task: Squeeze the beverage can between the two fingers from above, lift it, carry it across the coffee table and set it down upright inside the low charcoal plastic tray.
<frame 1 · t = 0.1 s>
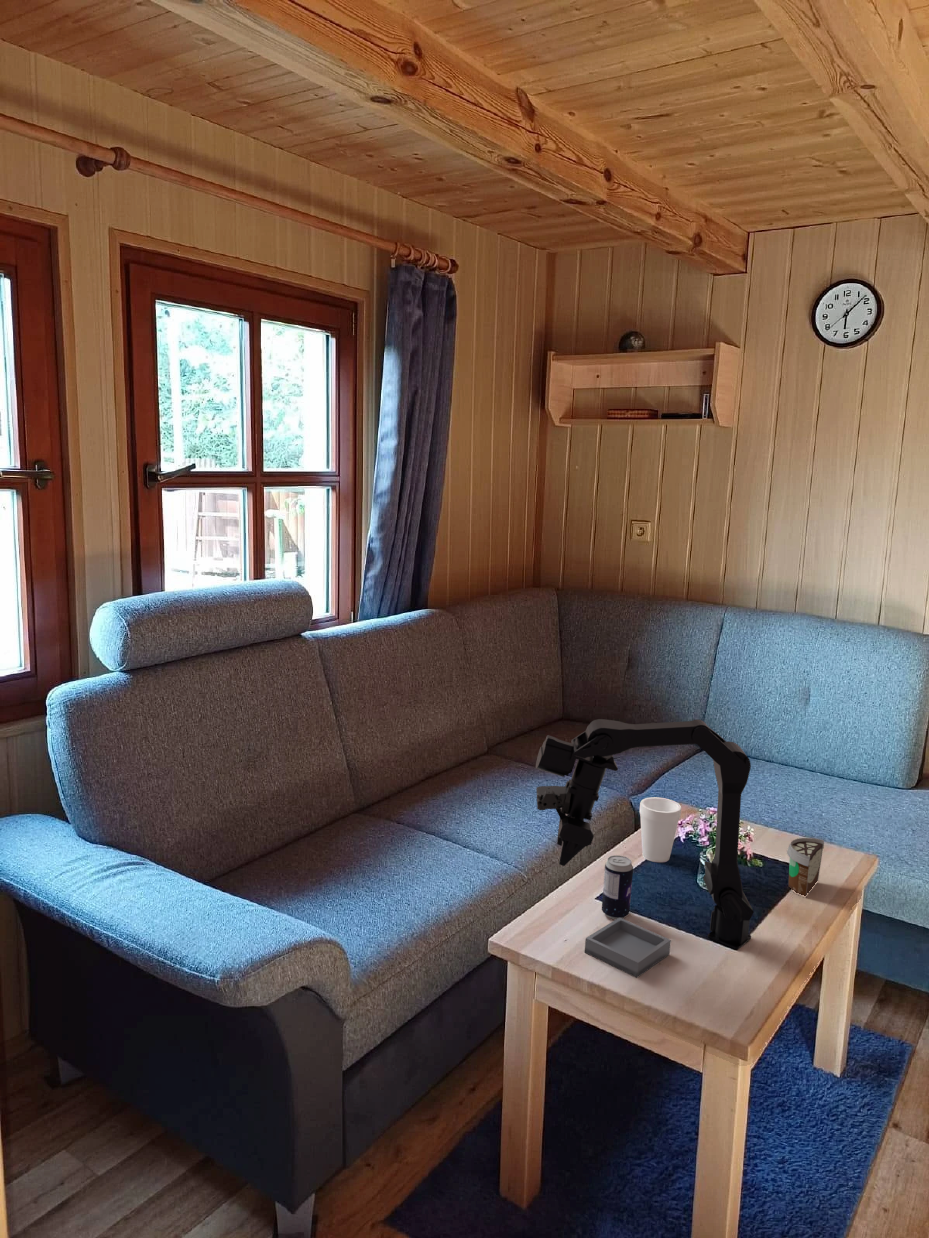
hand: (560, 854, 182), 15 cm above the table, tool pointing down, fingers open, 9 cm apart
foam cup: (655, 857, 220), on the table
beverage can: (615, 915, 191), on the table
tray: (627, 953, 176), on the table
food container: (797, 886, 208), on the table
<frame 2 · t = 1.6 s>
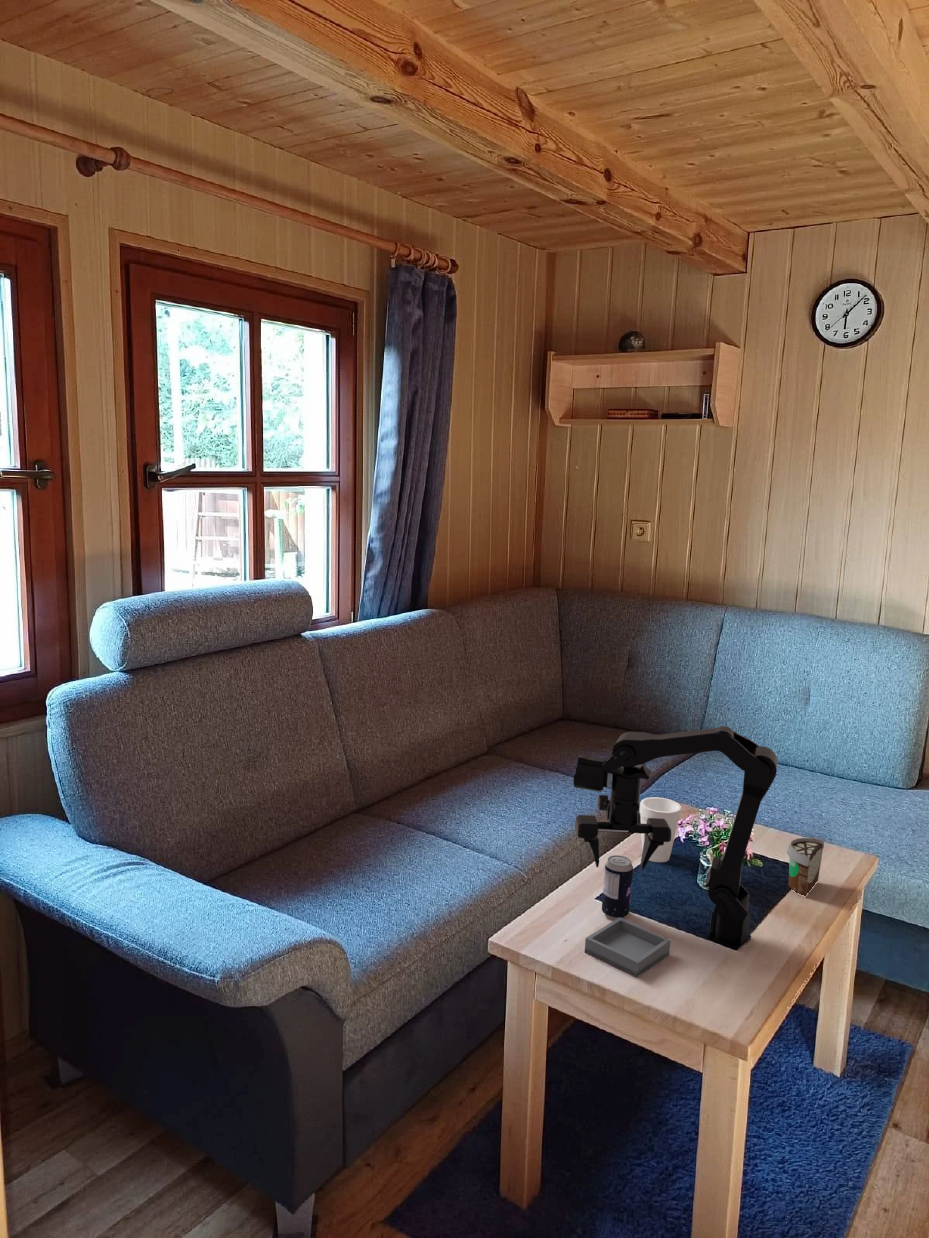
hand: (619, 867, 189), 10 cm above the table, tool pointing down, fingers open, 9 cm apart
nothing on the table moved.
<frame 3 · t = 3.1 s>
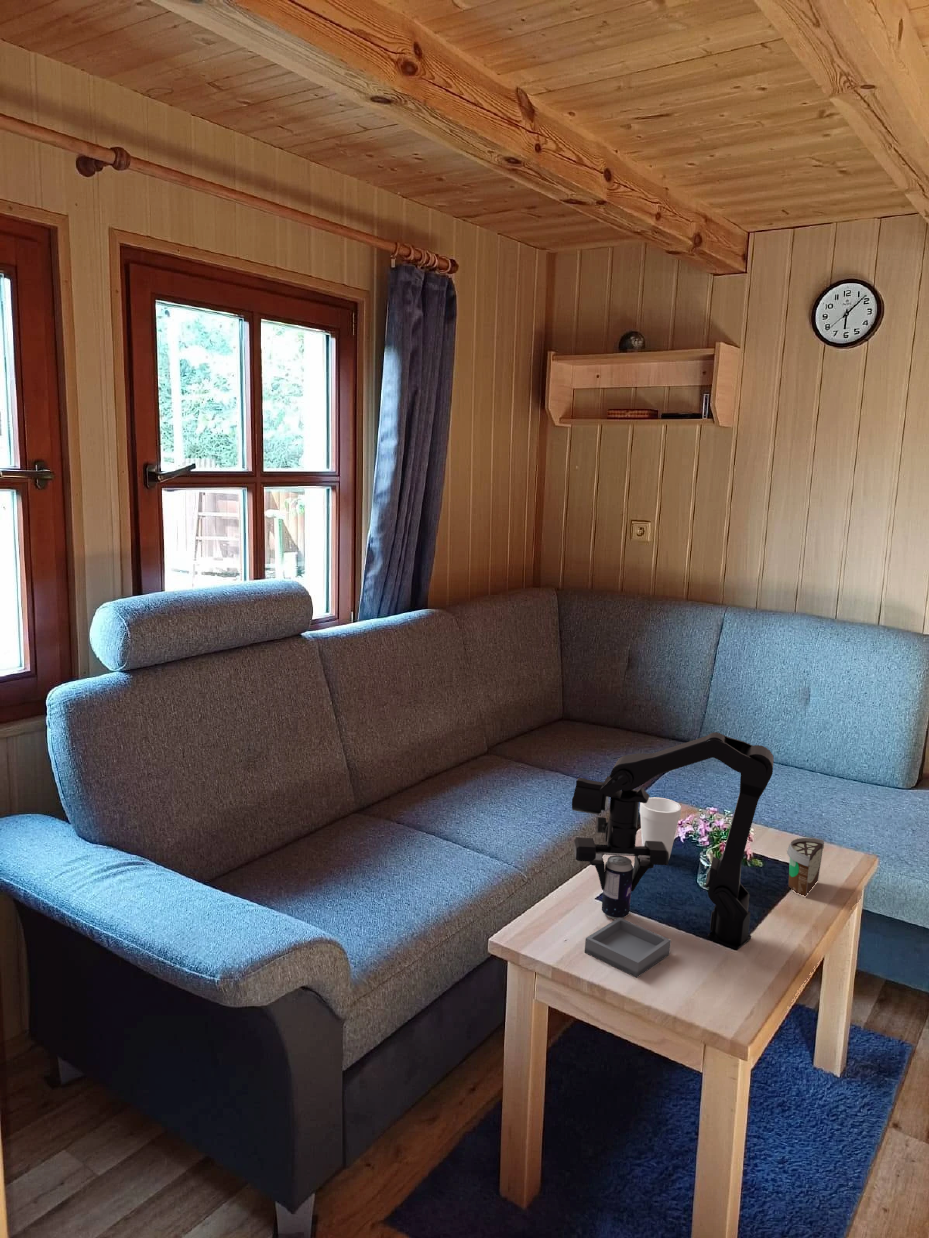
hand: (617, 889, 190), 6 cm above the table, tool pointing down, fingers closed on beverage can, 6 cm apart
beverage can: (615, 915, 191), on the table, touching gripper
everything else where it was.
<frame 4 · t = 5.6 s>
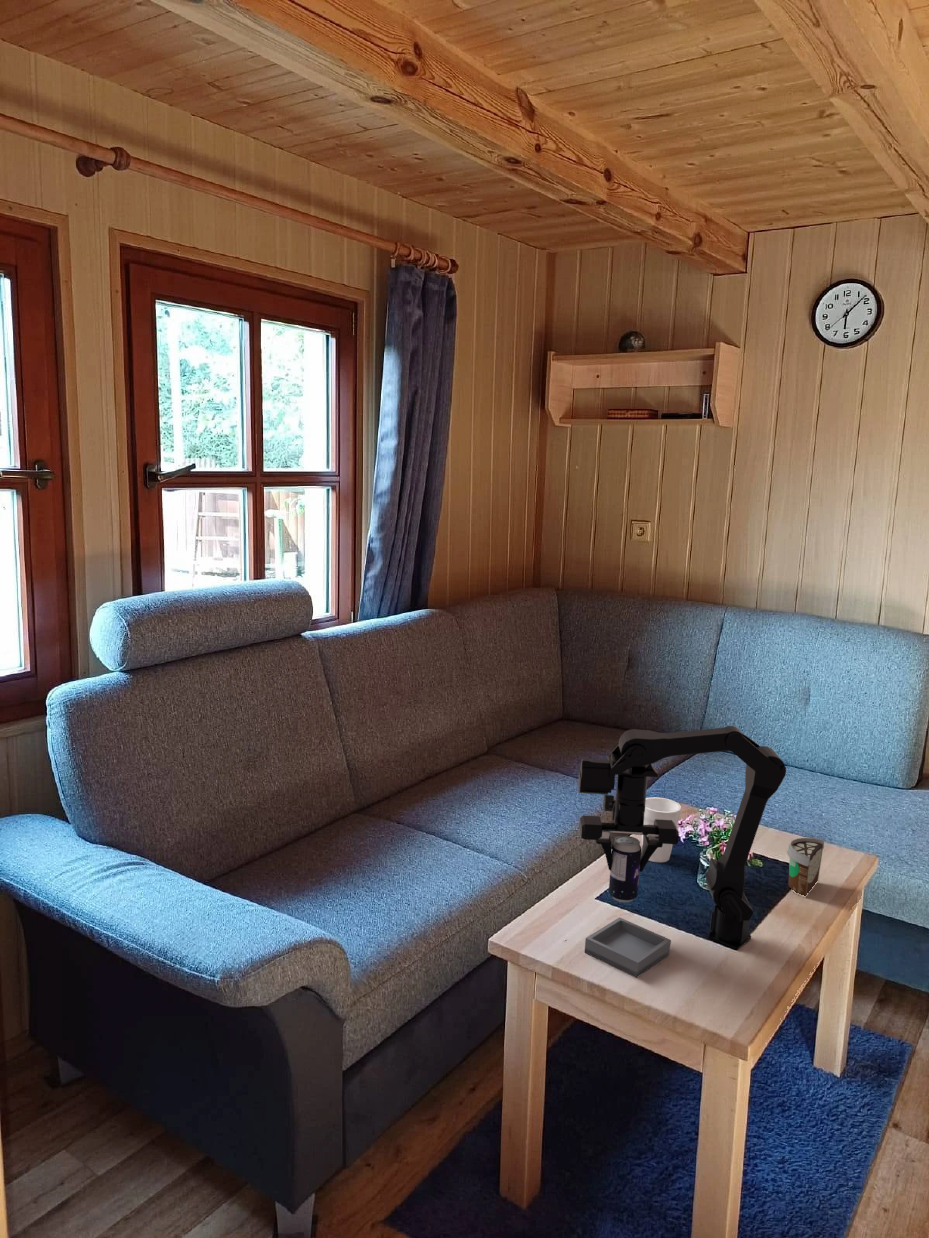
hand: (625, 870, 183), 13 cm above the table, tool pointing down, fingers closed on beverage can, 6 cm apart
beverage can: (622, 898, 184), point 7 cm above the table, touching gripper
everything else where it was.
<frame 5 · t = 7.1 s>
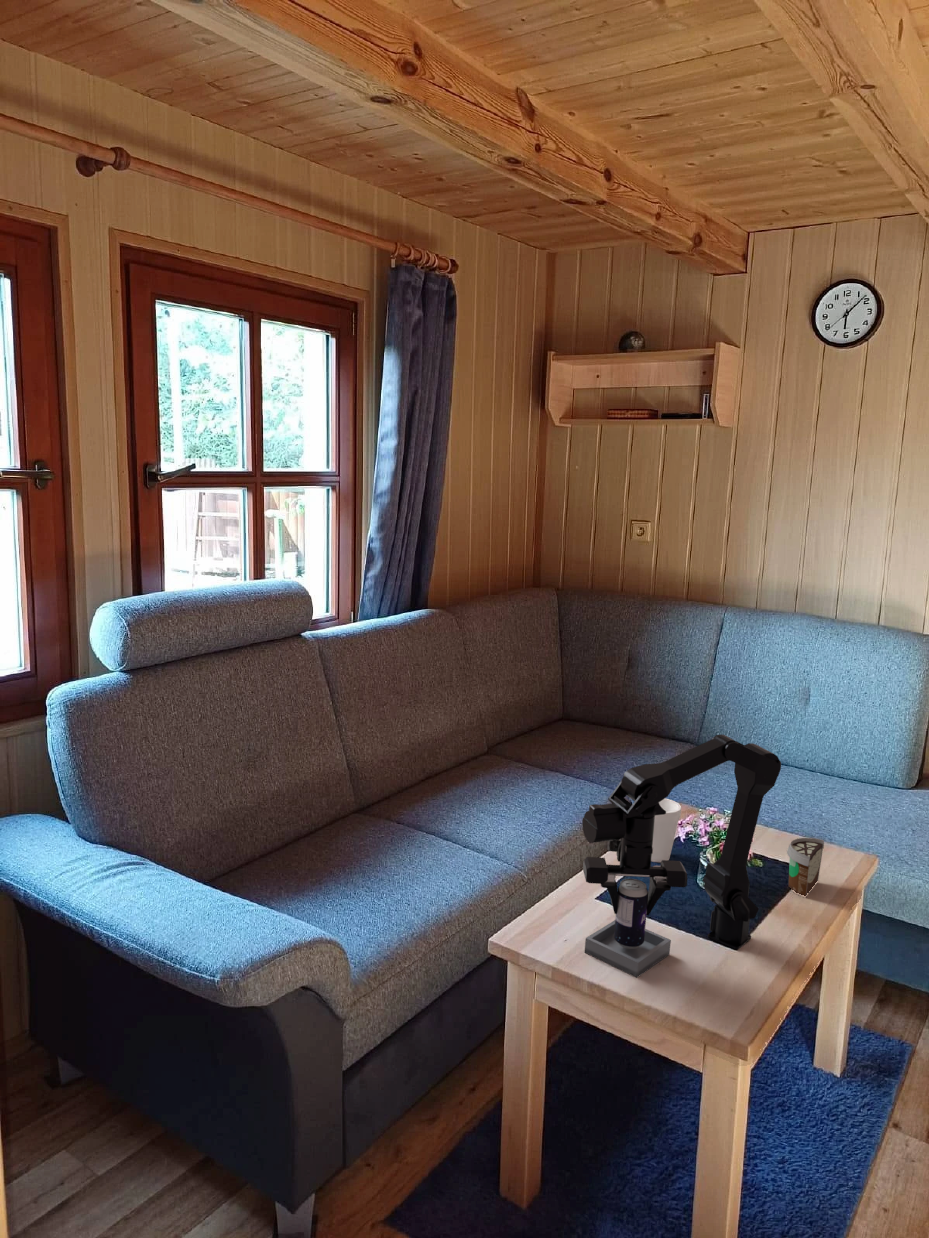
hand: (631, 913, 175), 8 cm above the table, tool pointing down, fingers closed on beverage can, 6 cm apart
beverage can: (628, 943, 176), point 2 cm above the table, touching gripper
everything else where it was.
when the fingers open (7 cm above the table, at t = 8.2 s): beverage can stays where it is, resting on tray.
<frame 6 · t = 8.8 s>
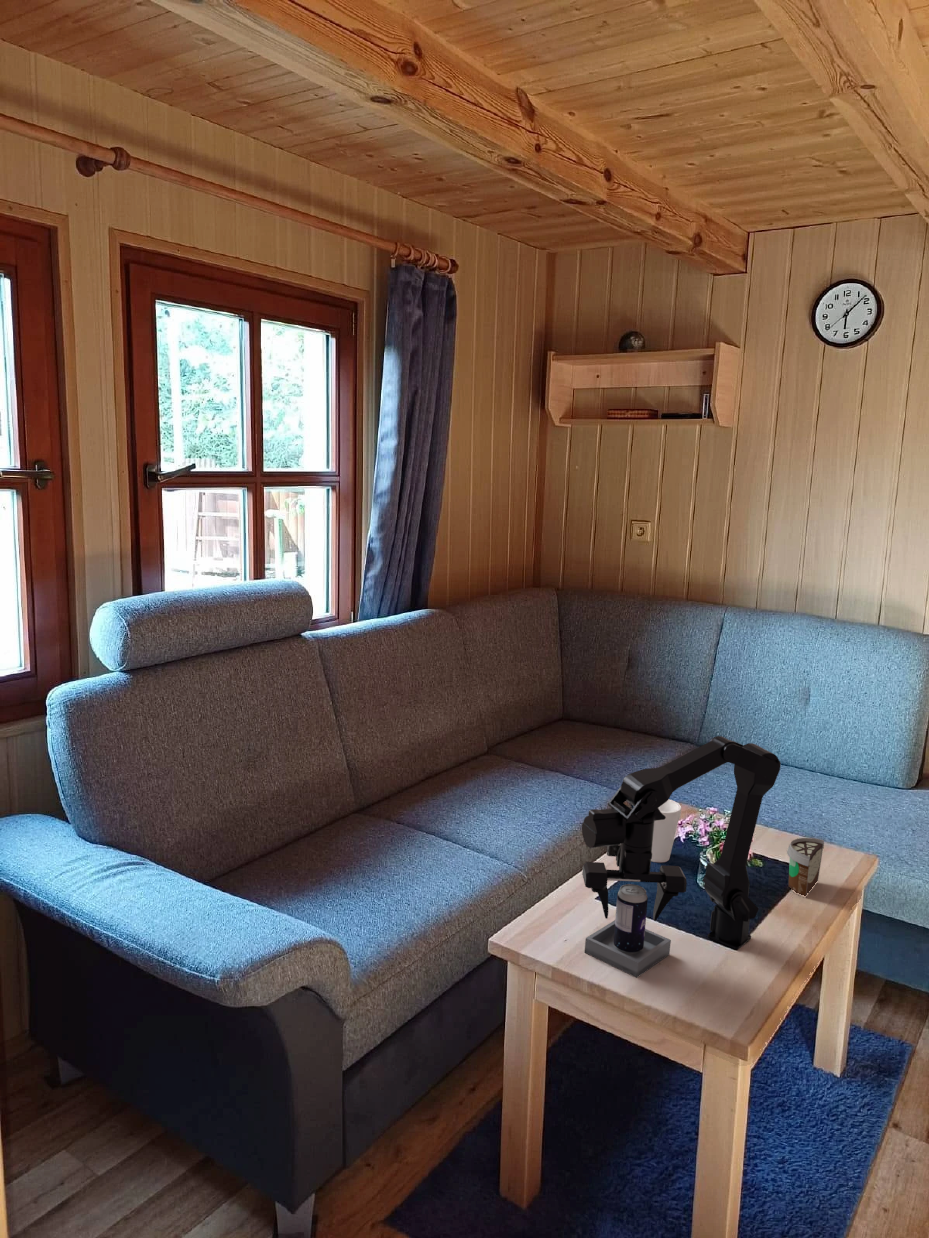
hand: (630, 918, 175), 7 cm above the table, tool pointing down, fingers open, 9 cm apart
beverage can: (627, 949, 176), point 1 cm above the table, touching tray
everything else where it was.
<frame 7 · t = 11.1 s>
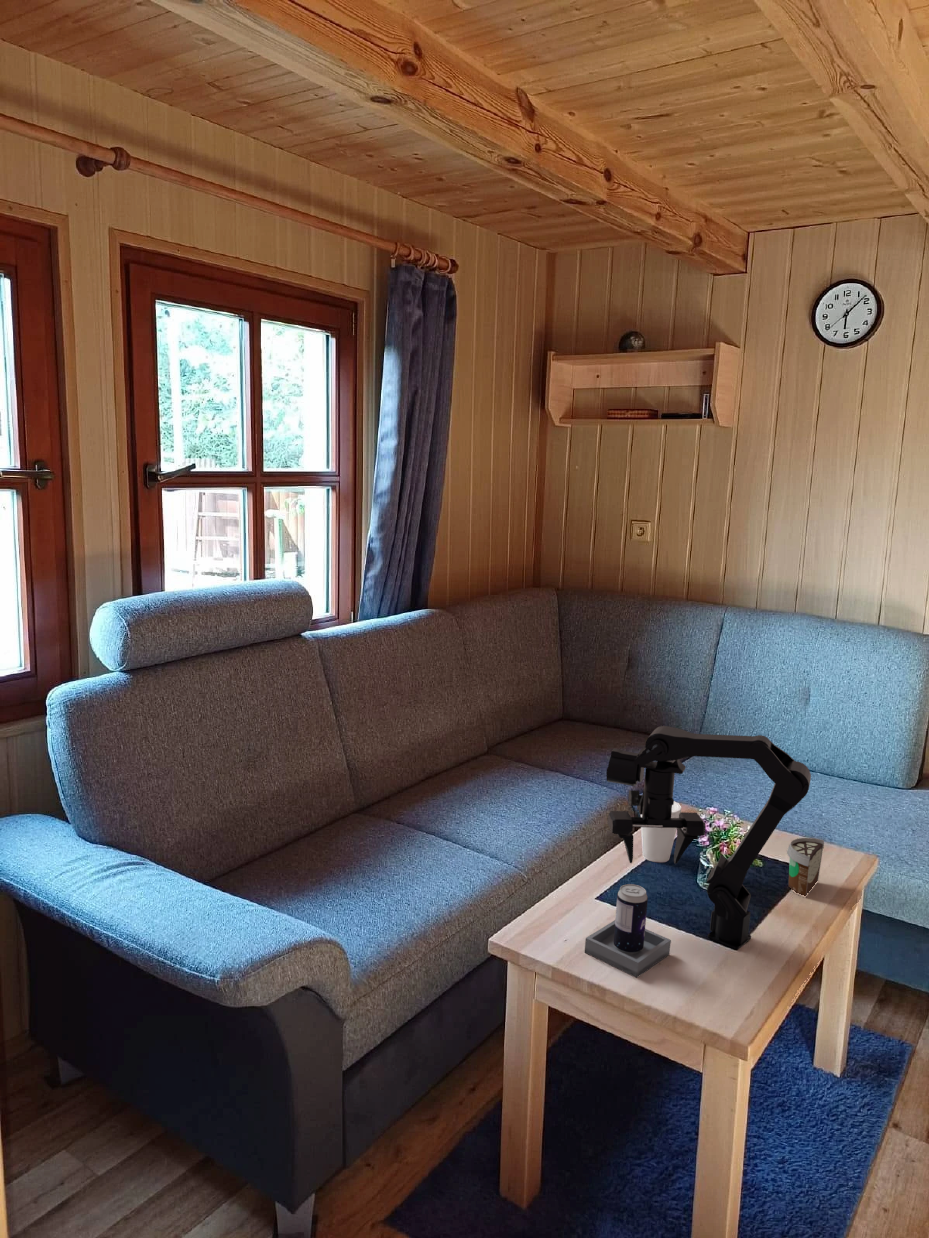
hand: (652, 862, 188), 12 cm above the table, tool pointing down, fingers open, 9 cm apart
nothing on the table moved.
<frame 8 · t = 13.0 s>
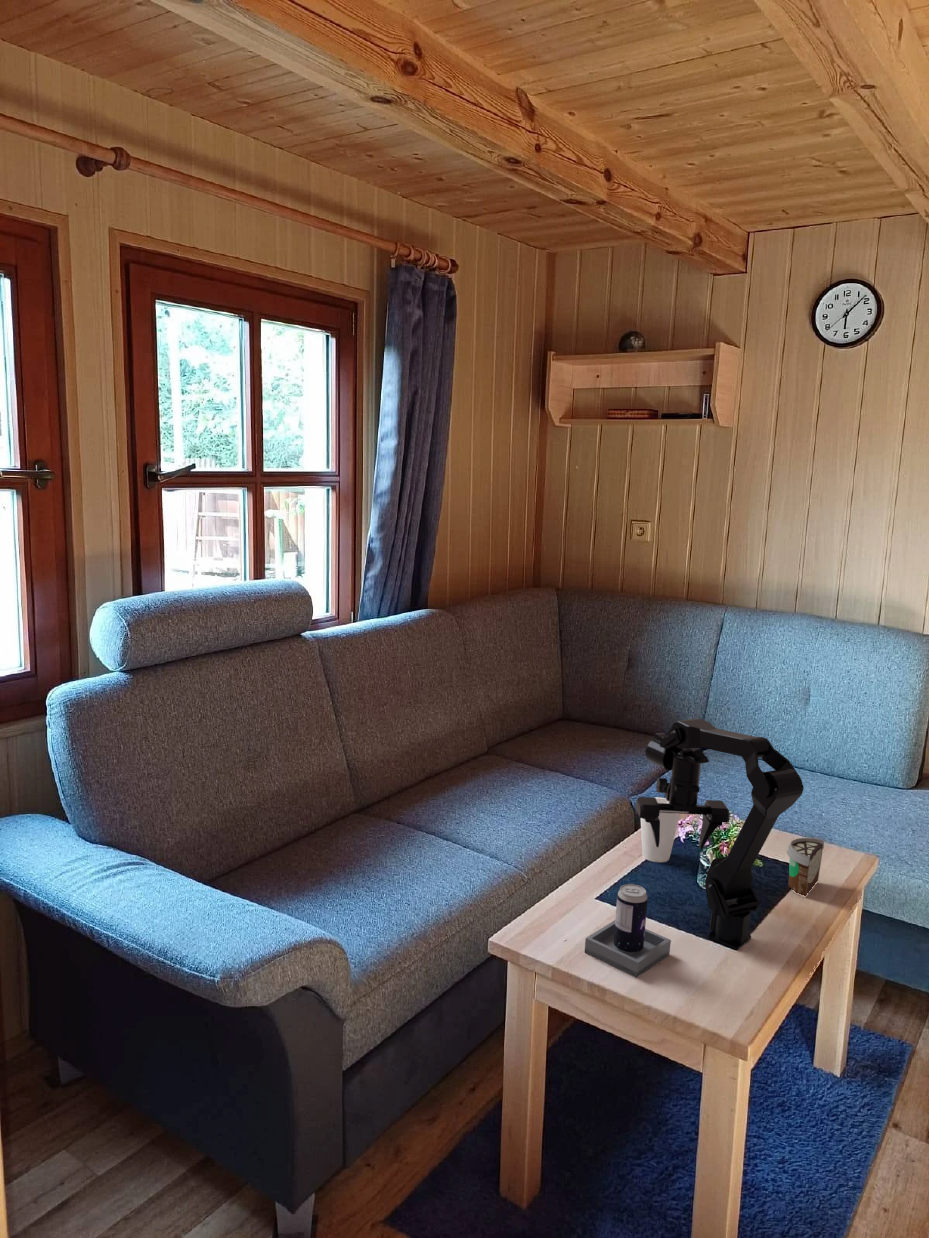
hand: (678, 847, 196), 12 cm above the table, tool pointing down, fingers open, 9 cm apart
nothing on the table moved.
at the end: beverage can 0.1 cm off-centre on the tray, point 0.8 cm above the tray's base; beverage can tilted 0°; the gripper is holding nothing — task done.
